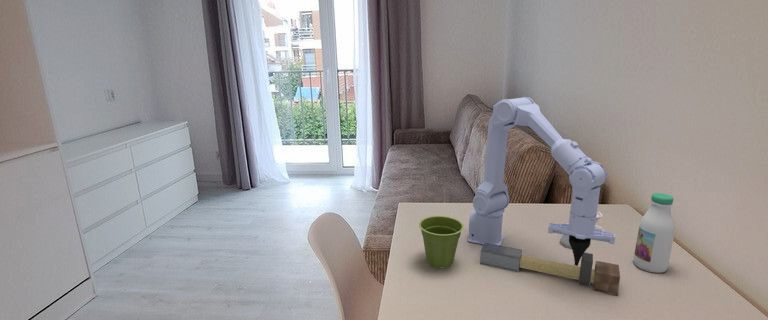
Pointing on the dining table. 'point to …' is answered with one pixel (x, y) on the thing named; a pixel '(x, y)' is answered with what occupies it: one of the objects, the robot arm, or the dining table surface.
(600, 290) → the socket
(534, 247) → the dining table surface
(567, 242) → the flask
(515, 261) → the sleeve
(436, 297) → the dining table surface
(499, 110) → the robot arm
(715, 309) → the dining table surface
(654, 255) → the milk bottle
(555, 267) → the grey-banded wooden bar
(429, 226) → the plant pot
